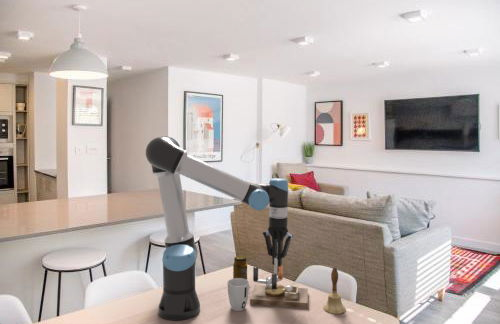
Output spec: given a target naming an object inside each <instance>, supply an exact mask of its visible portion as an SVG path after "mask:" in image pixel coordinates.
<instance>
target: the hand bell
mask: <svg viewBox="0 0 500 324" xmlns="http://www.w3.org/2000/svg"><path fill="white" fill-rule="evenodd" d="M330 275H331V282H332V287H331V288H332V289H331V290H332V291H331V293H329V294H328V298H327V301H326V303H325V304H324V305H323V308H322V309H323V310H324V312H326V313H329V314H333V315H340V314H344V313H345V312H346V306H344V305H343V303H342V298H341V294H339V293H338V287H337V285H338V281H339V272H338V268H337V267H335V266H334V267H332V270H331V274H330Z"/></svg>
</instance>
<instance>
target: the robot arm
mask: <svg viewBox="0 0 500 324" xmlns="http://www.w3.org/2000/svg"><path fill="white" fill-rule="evenodd" d="M145 157H146V159H147V162H148V163H149V164H150V165H151V171H152V174H153V175H154V176H155V177H157V182H158V188H159V194H160V200H161V205H162V211H163V216H164V223H165V228H166V234H167V236H166V237H165V238H164V246H165V250H164V251H163V253H162V258H161V259H162V291H163V292H162V294H161V298H160V301H159V304H158V316H159V317H161V318H163V319H165V320H169V321H183V320H184V321H185V320H188V319H191V318H194V317H195V316H197V315H198V314H199V313H200V312H201V302H200V300H199V297H198V293H197V291H196V264H197V258H198V248H197V245H196V243H195V241H196V240H195V237H194V234H193V233H192V232H191V231H190V229H189V223H188V217H187V211H186V205H185V200H184V199H185V198H184V193H183V188H182V187H183V186H182V182H181V176H183V177H186V178H187V179H190V180H192V181H195V182H196V183H199V184H200V185H203V186H206V187H208V188H210V189H212V190H215V191H217V192H219V193H221V194H223V195H226V196H228V197H229V198H230V197H231V198H232V199H233V200H234V199H235V200H237V201H240V202H241V203H243V204H245V205H248V206H249V207H250V208H251V209H253V210H255V211H263V210H264V209H266V208H267V207H268V206H269V208H268V209H269V210H268V216H269V218H268V228H267V230H265V231H263V232H262V235H263V237H264V240H265V244H266V250H267V255H268V256H270V257H272V260H271V261H272V266H273V267H274V268H273V274H277V275H278V266H281V265H283V259H284V258H285V257H287V256H288V255H287V254H288V252H289V247H290V244H291V241H292V239H293V238H294V235H293V234H291V233H289V230H288V206H289V202H288V201H289V182H288V180H287V179H285V178H277V177H276V178H270V180H269V182H268V183H250V182H248V181H246V180H243V179H241V178H239V177H236V176H235V175H233V174H230V173H228V172H226V171H224V170H221V169H219V168H217V167H215V166H213V165H211V164H208V163H207V162H205V161H203V160H201V159H198V158H196V157H193V156H192V155H189V154H188V152H187V150H185V149H183V148H181V146H180V144H179V143H178V141H177V140H176V139H175V138H173V137H171V136H158V137H155V138H153V139H151V140H150V141H149V143H148V144H147V145H146V149H145ZM284 240H285V242H284ZM283 244H284V245H283Z"/></svg>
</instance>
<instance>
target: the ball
mask: <svg viewBox="0 0 500 324" xmlns="http://www.w3.org/2000/svg"><path fill="white" fill-rule="evenodd" d="M291 286H292V285H290V286H286V285H285V287H286V288H285V292H293V288H292V287H291Z"/></svg>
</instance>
